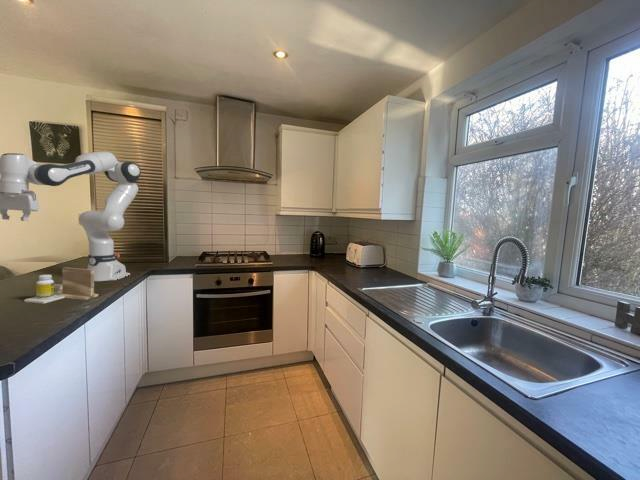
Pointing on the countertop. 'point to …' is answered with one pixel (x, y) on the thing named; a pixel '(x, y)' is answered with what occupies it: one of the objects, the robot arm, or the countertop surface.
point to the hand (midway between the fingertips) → (15, 220)
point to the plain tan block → (57, 289)
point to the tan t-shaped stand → (78, 283)
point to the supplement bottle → (45, 287)
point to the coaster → (44, 299)
